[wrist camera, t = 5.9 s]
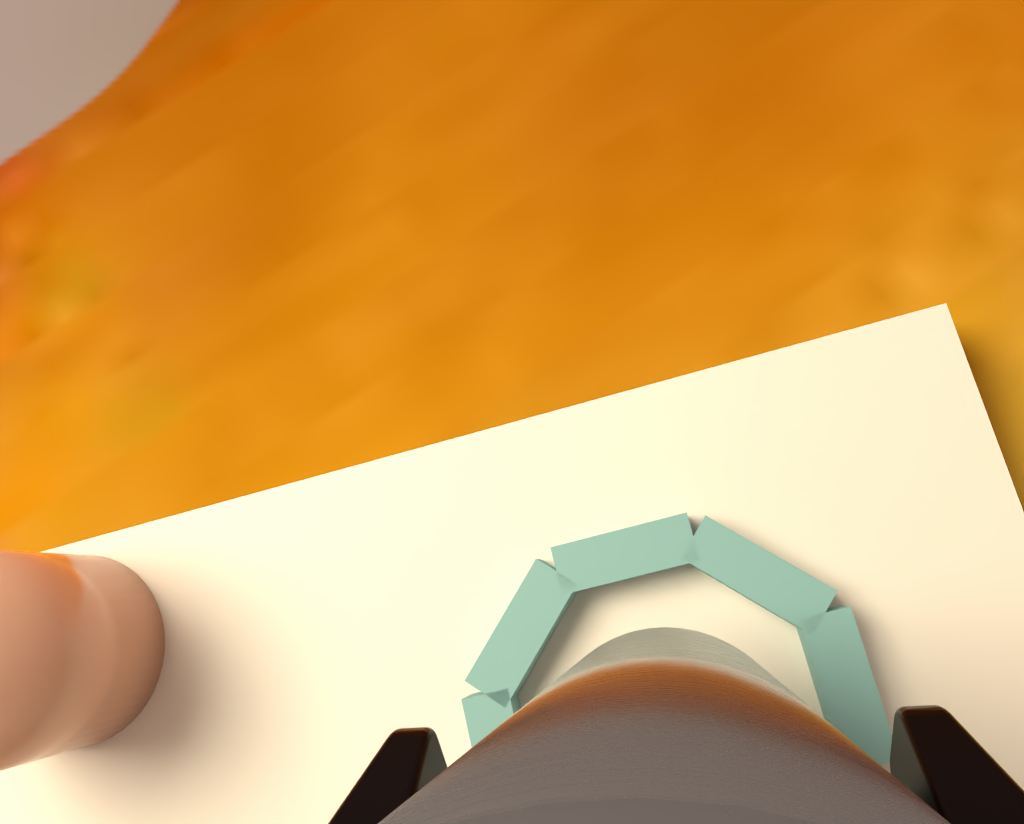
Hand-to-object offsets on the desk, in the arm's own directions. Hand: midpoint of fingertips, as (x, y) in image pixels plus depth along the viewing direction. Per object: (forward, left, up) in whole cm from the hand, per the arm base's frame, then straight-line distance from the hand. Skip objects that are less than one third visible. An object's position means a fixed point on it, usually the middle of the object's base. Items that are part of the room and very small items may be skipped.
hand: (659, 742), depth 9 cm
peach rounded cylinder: (+3, +13, -10) cm, 17 cm away
